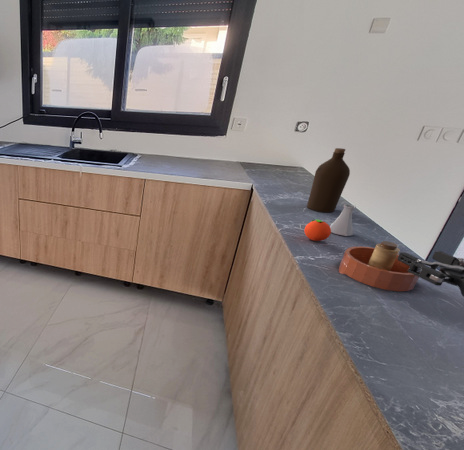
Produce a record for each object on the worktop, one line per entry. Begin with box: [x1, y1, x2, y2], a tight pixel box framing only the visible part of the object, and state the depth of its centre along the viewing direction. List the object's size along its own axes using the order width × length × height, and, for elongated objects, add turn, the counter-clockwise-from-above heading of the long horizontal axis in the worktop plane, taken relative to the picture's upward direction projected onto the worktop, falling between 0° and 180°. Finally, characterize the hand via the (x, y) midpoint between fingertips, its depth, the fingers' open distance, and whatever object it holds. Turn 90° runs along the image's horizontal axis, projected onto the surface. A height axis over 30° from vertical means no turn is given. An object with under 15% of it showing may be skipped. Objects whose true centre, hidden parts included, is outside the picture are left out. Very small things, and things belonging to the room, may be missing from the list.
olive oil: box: [306, 147, 351, 213], centre depth 126 cm, size 11×11×25 cm
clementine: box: [303, 219, 332, 242], centre depth 104 cm, size 8×7×7 cm
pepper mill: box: [368, 240, 401, 271], centre depth 81 cm, size 4×4×10 cm
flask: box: [329, 203, 357, 237], centre depth 108 cm, size 7×7×10 cm
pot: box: [338, 245, 421, 292], centre depth 83 cm, size 15×15×6 cm
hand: (417, 255), depth 73 cm, fingers open, 8 cm apart
